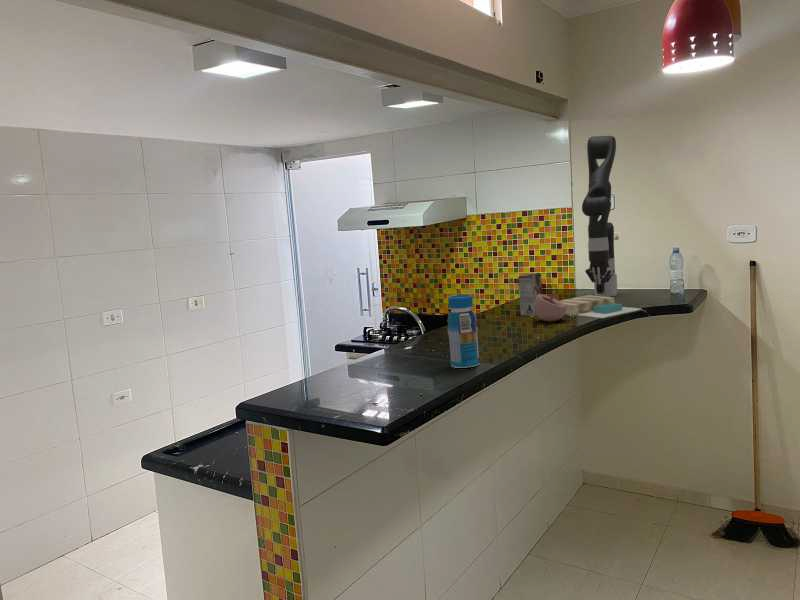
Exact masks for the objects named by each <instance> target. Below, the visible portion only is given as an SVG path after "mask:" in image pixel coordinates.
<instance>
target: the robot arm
mask: <svg viewBox="0 0 800 600" xmlns="http://www.w3.org/2000/svg"><path fill="white" fill-rule="evenodd" d="M616 141H617V140H616V137H615V136H613V135H600V136H599V135H595V136H591V137H589V138H588V140H587V143H586V145H587V146H586V151H587V154H586V155H587V163H588V164H587V165H588V166H587V167H588V191H587V193H586V195H585V197H584V199H583V201H582V204H581V211H582V213H583V215H584V216H586V217H588V226H587V232H588V233H587V234H588V241H587V242H588V243H587V249H588V261H589V268H587V269H585V273H586V275H587V277H588V278H589V280H590V281H591V283H593V285H594V286H593V287H594V288H593V289H594V296H603V297H611V296H612V297H615V296H617V295H618V278H617V274H616V265H615V244H614V243H615V229H614V227H615V226H614V225H613V223H612V222H611V221H609V216H610V213H611V208H612V201H611V199H612V185H611V182H610V175H611V171H612V168H613V164H614V162H615V156H616V152H617V142H616ZM597 160H603V162H602V163H601V164H600V165H599V164H598V161H597ZM608 221H609V222H608Z"/></svg>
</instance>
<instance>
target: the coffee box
mask: <svg viewBox="0 0 800 600" xmlns="http://www.w3.org/2000/svg"><path fill="white" fill-rule="evenodd" d="M517 279H518V291H519V292H518V293H519V305H520V306H519V308H520V309H519V310H520V316H527V317H528V316H529V317H530V316H531V317H533V316H534V317H535V316H537V315H536V313H535V310H534V301H535V298H536V297H537V295H538V294H543V289H542V273H540V272H539V273H525V274H522V275H519V276H518V278H517Z"/></svg>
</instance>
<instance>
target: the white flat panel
mask: <svg viewBox="0 0 800 600" xmlns="http://www.w3.org/2000/svg"><path fill="white" fill-rule="evenodd" d="M641 310H642V308H639V307H638V308H637V307H628V306H627V307H626V306H622V311H617V312H612V313H608V314H602V313H594V311H592V312H588V313H583V314H578V315H577V316H579V317H585V316H586V318H595V319H607V318H611V317H616V316H620V315H624V314H628V313H629V314H630V313H634V312H638V311H641Z"/></svg>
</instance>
